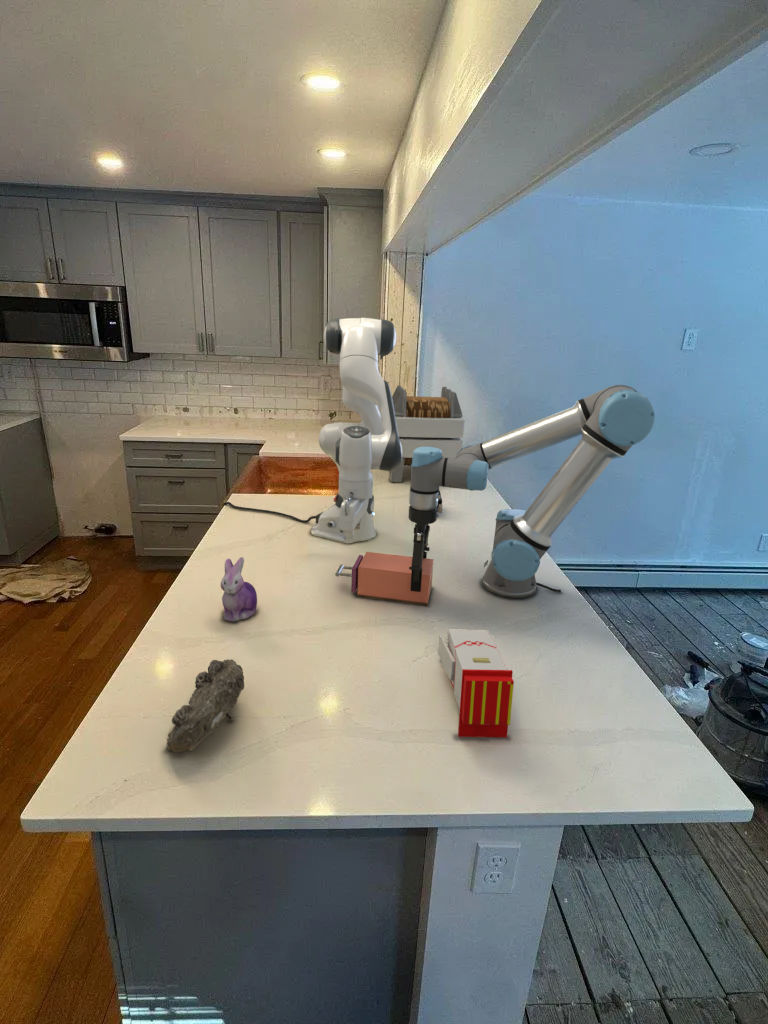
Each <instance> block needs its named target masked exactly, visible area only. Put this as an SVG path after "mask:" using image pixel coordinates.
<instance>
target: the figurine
mask: <svg viewBox="0 0 768 1024" xmlns="http://www.w3.org/2000/svg"><path fill="white" fill-rule="evenodd" d="M244 564H245V558H244V557H242V556H241V557H239V558H238V559H237V561H236V562H235V564H233V562H232V560H231V558H229V557H228V558H226V559H225V561H224V575H223V577H222V579H221V582H220V589H221V590H222V591H223V594H222V597H221V602H222V606H223V609H224V611H223V619H224V621H225V620H226V621H229V622H238V621H241V620H245V619H249V618H250V617H252V616H253V615H255V614H256V613H257V607H258V594H257V591H256V587H254V586H253V584H251V583H250V582H248V581H245V580H244V578H243V576H242V571H243V568H244Z"/></svg>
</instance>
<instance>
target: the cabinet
mask: <svg viewBox="0 0 768 1024" xmlns="http://www.w3.org/2000/svg"><path fill="white" fill-rule="evenodd" d="M411 566H412V556H410V555H409V556H408V555H400V554H391V553H383V552H382V553H381V552H372V551H365V553H364V555H363V559H362V561H361V563H360V565H359V566H358V588H357V591H356V592H357V595H356V597H357V598H362V599H363V598H364V599H370V600H371V599H372V600H380V601H388V602H395V603H403V604H411V605H419V606H427V607H428V605H429V601H430V596H431V592H432V588H433V587H432V586H433V573H434V571H433V570H434V558H423V560H422V580H421V592H416V591H410V588H411V573H412V570H411V569H409V567H411Z"/></svg>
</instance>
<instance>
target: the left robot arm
mask: <svg viewBox="0 0 768 1024" xmlns="http://www.w3.org/2000/svg"><path fill="white" fill-rule="evenodd" d="M325 325H326V326H325V327H324V330H323V341H324V345H325V347H326V350H327V351H328V352H329V353H331V354H335V355H339V379H340V382H341V385H342V386H341V401H342V404H343V406H344V407H345V408H346V409H347V410H349V411H350V412H353V413H355V414H357V415H358V416H359V418H360V420H361V421H360V422H333V423H332V422H331V423H327V424H325V425H323V427H321V429H320V431H319V433H318V444H319V447H320V449H321V450H322V452H323V453H324V454H325V455H326V456H328V457H329V458H330V459H331V460H332V461H333V462H334V464H335V465H336V467H337V470H338V492H337V494H336V495H335V496H334V497H333V502H334V504H333V505H331V506H329V507H328V508H326V509H325V510H323V511H322V512H319V513H318V514H316V515H312V516H309V517H308V518H307V519H305V520H303V519H300V518H298V517H296V516H293V515H290V514H286V513H282V512H279V511H274V510H269V509H268V510H267V509H261V508H254V507H253V508H252V507H244V506H238V505H235V504H232V503H231V502H230V501H226V502H224V504H223V506H227V505H228V506H230V507H231V508H233V509H236V510H237V509H238V510H243V511H244V510H245V511H251V512H260V513H267V514H273V515H277V516H282V517H284V518H285V517H286V518H289V519H292V520H295V521H297V522H300V523H302V524H308V523H310V522H311V520H315V524H314V525H313V526H312V528H311V530H310V533H311V536H315V537H319V538H323V539H326V540H330V541H336V542H339V543H343V544H352V543H357V542H365V541H368V540H372V539H373V538H375V537H376V535H377V532H376V528H375V523H374V516H375V514H376V513H375V512H374V509H375V496H374V474H373V472H372V471H371V470H380V471H384V472H390V471H392V470H394V469H395V468H396V467H398V466H399V465H400V464H401V461H402V456H403V451H402V446H401V442H400V439H399V435H398V430H397V424H396V418H395V412H394V406H393V400H392V396H393V394H392V391H391V386H390V385H389V383H388V381H387V380H385V379H384V378H383V377H382V376H381V373H380V371H379V360H383V357H386V356H389V355H390V354H391V353H392V352H393V350H394V347H395V346H396V343H397V330H396V328H395V325H394V323H393V322H392V321H391V320H387V319H383V318H382V319H378V318H371V317H349V318H340V317H337V318H336V317H335V318H332V319H329V320H328V322H326V324H325ZM379 356H380V357H379ZM379 358H380V359H379Z"/></svg>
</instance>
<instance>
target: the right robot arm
mask: <svg viewBox="0 0 768 1024" xmlns="http://www.w3.org/2000/svg"><path fill="white" fill-rule="evenodd" d="M655 418H656V416H655V410H654V407H653V405H652V402H651V401H650V400H649V398H648V397H647V396H646V395H644V394H643V393H642V392H640V391H638V390H636V389H635V388H633V387H631V386H629V385H626V384H625V385H624V384H615V385H611V386H607V387H606V388H603V389H600V390H598V391H597V392H594V393H592V394H590V395H588V396H585V397H583V398H581V399H578V400H576V401H575V403H574V405H573V406H571V407H569V408H566V409H564V410H561V411H558V412H556V413H553V414H551V415H548V416H545V417H543V418H540V419H538V420H535V421H532V422H531V423H528V424H526V425H523V426H521V427H518V428H515V429H513V430H510V431H508V432H505V433H503V434H500V435H497V436H495V437H492V438H490V439H487V440H485V441H482V442H480V443H476V444H474V445H469V444H468V445H466V446H463V447H462V449H461V450H460V451H459V452H458V454H457V456H456V458H455V459H454V458H446V457H443V455H442V451H441V450H440V449H439V448H434V447H418V448H416V449H415V450H414V451H413V459H412V465H411V466H410V469H411V470H410V486H409V487H410V488H409V497H408V498H409V499H408V504H409V506H408V520H409V521H410V522H412V523H415V524H414V527H413V540H412V542H413V546H412V547H413V548H412V556H411V557H412V566H411V567H409V569H411V570H412V573H411V588H410V591H416V592H421V580H422V560H423V558H427V556H428V552H430V547H429V536H430V530H431V524H434V523H436V522H437V520H438V517H437V513H438V512H437V510H438V509H437V505H438V499H440V498H442V495H441V496H440V495H438V494H439V491H440V487H441V488H450V489H460V490H466V491H481V492H483V491H485V490H486V488H487V484H488V475H489V470H491V469H493V468H497V467H499V466H501V465H504V464H507V463H509V462H512V461H515V460H517V459H520V458H523V457H526V456H528V455H532V454H534V453H536V452H539V451H542V450H544V449H548V448H550V447H552V446H556V445H559V444H561V443H564V442H566V441H569V440H571V439H574V438H577V437H581V439H580V440H579V441H578V443H577V444H576V445H575V447H574V448H573V449H572V450H571V452H570V453H569V454H568V456H567V457H566V459H565V460H564V461H563V462H562V463H561V465H560V467H559V468H558V469H557V471H555V472H554V474H553V475H552V477H551V478H550V480H549V481H548V482H547V483H546V485H545V486H544V487H543V488H542V490H541V491H540V492H539V494H538V495H537V496H536V498H535V499H534V500H533V502H532V503H531V505H530V506H529V507H528V508H527V509H526V510H523V509H514V508H506V509H500V510H499V511H498V512H497V514H496V518H495V527H494V536H493V545H492V551H491V556H490V557H491V560H490V562H489V559H487V560H486V561H485V562H484V564H483V568H485V567H486V566H487V567H486V570H485V572H484V574H483V575H482V576H483V577H482V585H483V587H484V588H485V589H486V591H488V592H489V593H492V594H494V595H496V596H499V597H502V598H508V599H525V598H529V597H531V596H533V595H534V594H535V593H536V592H537V587H541V588H544V589H546V590H548V591H551V592H553V593H554V592H555V593H562V589H557V588H553V587H550V586H548V585H545V584H543V583H539V582H537V578H536V573H537V572H538V570H539V568H540V564H541V559H542V558H543V557H544V555H545V554H546V553H547V552H548V550H549V549H550V548H551V547H552V545H553V540H552V535H553V534H554V533H555V532H556V531H557V529H559V527H560V525H561V524H562V523H563V522H564V520H565V519H566V518H567V517H568V516H569V514H570V513H571V512H572V511H573V509H574V508H575V507H576V505H577V504H578V503H579V502H580V501H581V500H582V498H583V497H584V495H585V494H586V493H587V492H588V491H589V489H590V488H591V487H592V486H593V485H594V483H596V481H597V480H598V478H599V477H600V475H601V474H602V473H603V472H604V471H605V469H606V468H607V467H608V466H609V464H611V462H612V461H613V460H615V459H618V458H619V459H620V458H623V457H625V455H626V454H627V453H628V452H629V450H630V449H631V448H632V447H633V446H634V445H637V444H639V443H641V442H642V441H644V440H645V439H646V438H647V437H648V436H649V434H650V433H651V432H652V429H653V428H654V425H655V420H656V419H655ZM427 559H428V558H427Z"/></svg>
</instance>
